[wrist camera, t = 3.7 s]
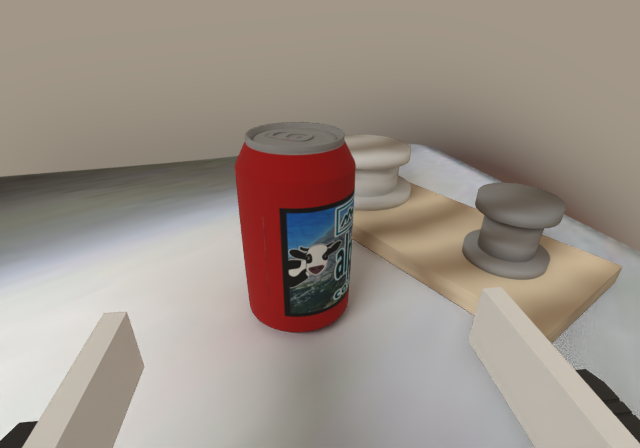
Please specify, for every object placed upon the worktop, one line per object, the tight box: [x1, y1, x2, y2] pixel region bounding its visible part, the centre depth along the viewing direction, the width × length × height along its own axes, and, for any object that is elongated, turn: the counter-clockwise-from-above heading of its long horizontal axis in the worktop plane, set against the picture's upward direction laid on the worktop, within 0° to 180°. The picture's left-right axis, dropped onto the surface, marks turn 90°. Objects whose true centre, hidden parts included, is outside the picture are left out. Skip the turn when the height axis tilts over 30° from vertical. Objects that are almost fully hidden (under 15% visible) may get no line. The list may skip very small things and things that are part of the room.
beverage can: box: [235, 122, 356, 332], centre depth 22 cm, size 7×7×12 cm
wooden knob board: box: [344, 135, 623, 343], centre depth 33 cm, size 28×12×6 cm, turn 36°
